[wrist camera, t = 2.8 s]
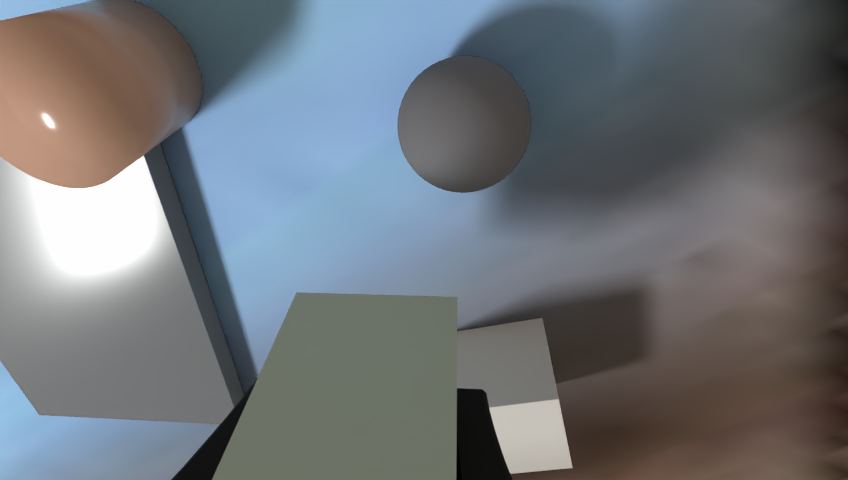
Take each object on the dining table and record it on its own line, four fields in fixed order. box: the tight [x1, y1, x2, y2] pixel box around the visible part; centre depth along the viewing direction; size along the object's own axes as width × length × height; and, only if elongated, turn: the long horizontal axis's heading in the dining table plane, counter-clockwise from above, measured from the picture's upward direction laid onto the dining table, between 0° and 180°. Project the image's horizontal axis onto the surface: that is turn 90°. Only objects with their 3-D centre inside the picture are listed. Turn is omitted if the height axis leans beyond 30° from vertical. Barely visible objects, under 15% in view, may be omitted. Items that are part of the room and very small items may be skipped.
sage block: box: [212, 293, 457, 480], centre depth 10 cm, size 4×4×6 cm
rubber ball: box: [398, 56, 531, 193], centre depth 13 cm, size 4×4×4 cm
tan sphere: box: [0, 0, 202, 189], centre depth 13 cm, size 4×4×4 cm
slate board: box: [0, 144, 244, 424], centre depth 20 cm, size 14×10×1 cm
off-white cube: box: [457, 318, 573, 474], centre depth 19 cm, size 4×4×4 cm
